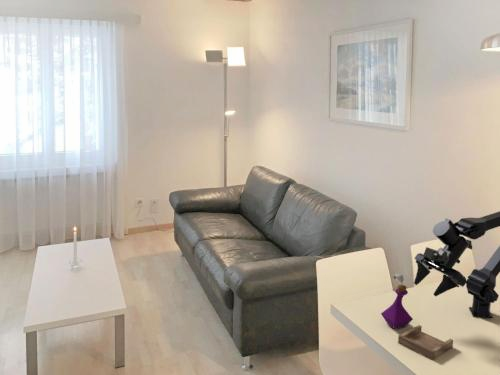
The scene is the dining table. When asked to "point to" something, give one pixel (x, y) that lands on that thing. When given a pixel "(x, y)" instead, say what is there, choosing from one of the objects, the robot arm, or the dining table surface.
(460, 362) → the dining table surface
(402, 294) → the perfume bottle
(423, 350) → the wooden tray
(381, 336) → the dining table surface
